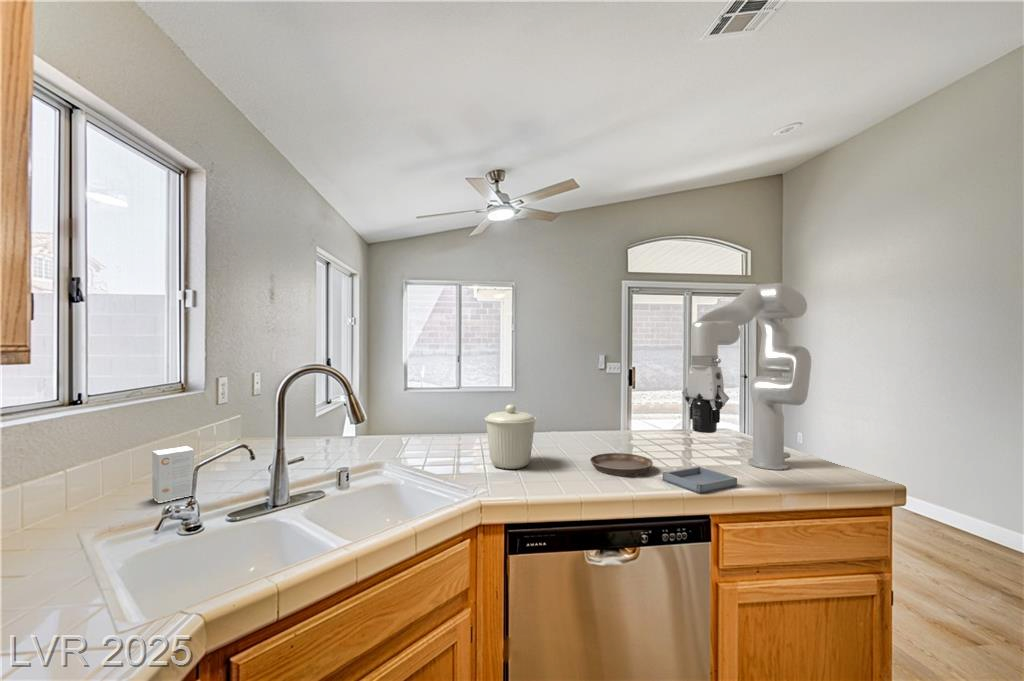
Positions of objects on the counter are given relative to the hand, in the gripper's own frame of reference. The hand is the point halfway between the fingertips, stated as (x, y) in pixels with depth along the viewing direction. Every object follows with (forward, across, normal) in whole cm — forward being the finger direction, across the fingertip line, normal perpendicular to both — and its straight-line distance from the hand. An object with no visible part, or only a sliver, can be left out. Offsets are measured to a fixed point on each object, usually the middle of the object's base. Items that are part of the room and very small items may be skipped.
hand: (704, 420), depth 138 cm
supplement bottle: (+4, 0, 0) cm, 4 cm away
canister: (+20, +45, +42) cm, 65 cm away
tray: (+20, +2, 0) cm, 20 cm away
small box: (+19, +57, +139) cm, 152 cm away
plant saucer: (+20, +25, +11) cm, 34 cm away
